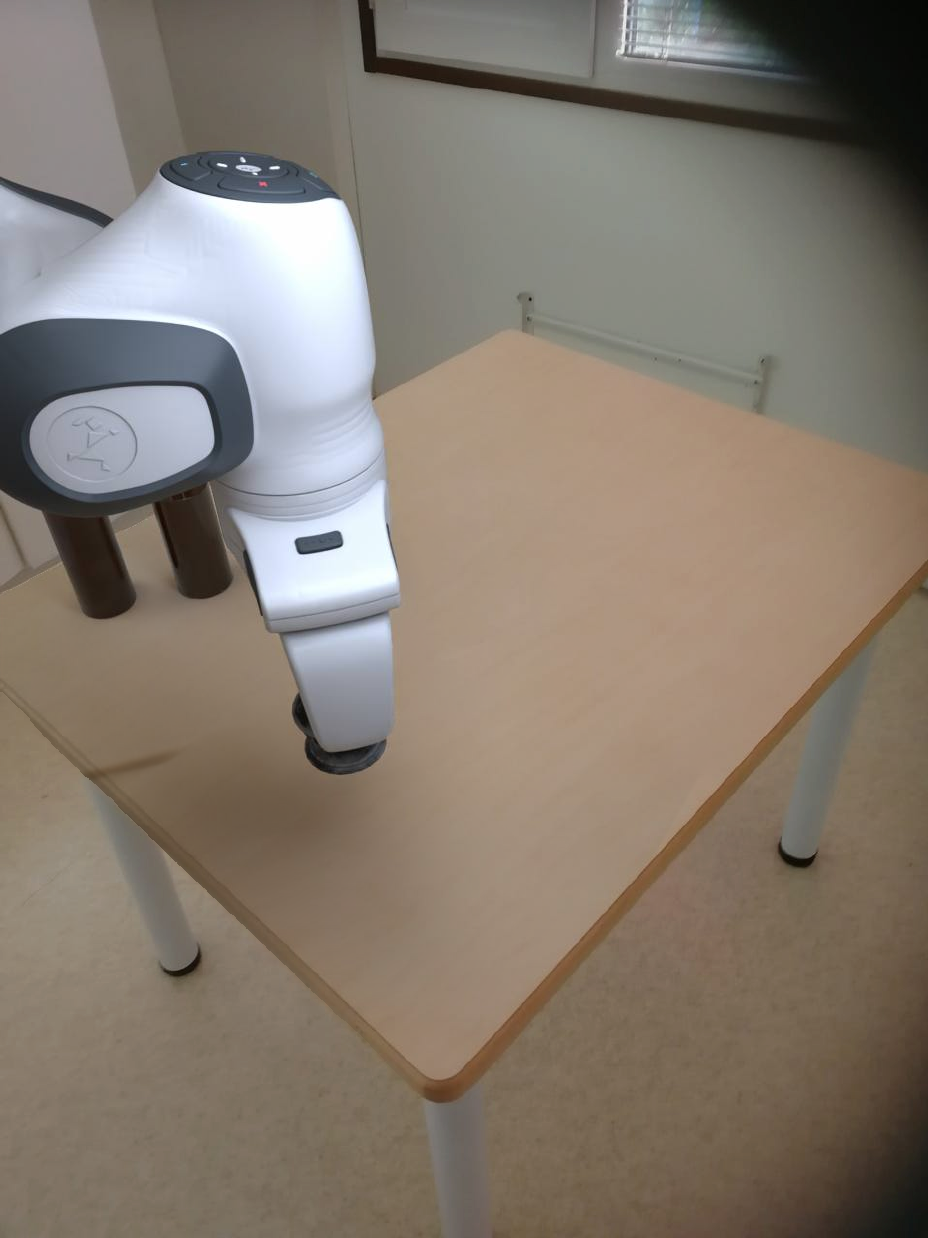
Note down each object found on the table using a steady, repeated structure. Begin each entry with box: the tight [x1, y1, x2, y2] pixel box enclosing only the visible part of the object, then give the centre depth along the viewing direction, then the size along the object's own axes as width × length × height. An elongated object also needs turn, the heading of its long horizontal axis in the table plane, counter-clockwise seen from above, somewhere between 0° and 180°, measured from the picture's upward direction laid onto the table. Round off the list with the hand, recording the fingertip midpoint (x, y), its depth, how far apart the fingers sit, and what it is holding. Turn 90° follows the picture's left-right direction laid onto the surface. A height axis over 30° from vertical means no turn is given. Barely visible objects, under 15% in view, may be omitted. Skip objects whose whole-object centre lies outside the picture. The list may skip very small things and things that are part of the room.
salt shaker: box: [291, 692, 388, 776], centre depth 57 cm, size 6×6×12 cm
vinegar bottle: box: [150, 482, 234, 600], centre depth 86 cm, size 5×5×16 cm
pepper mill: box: [41, 511, 137, 620], centre depth 85 cm, size 5×5×14 cm
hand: (335, 687), depth 58 cm, fingers closed on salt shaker, 3 cm apart
